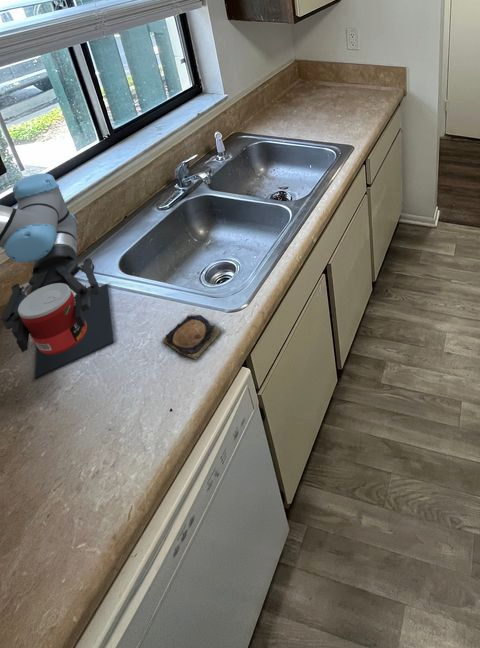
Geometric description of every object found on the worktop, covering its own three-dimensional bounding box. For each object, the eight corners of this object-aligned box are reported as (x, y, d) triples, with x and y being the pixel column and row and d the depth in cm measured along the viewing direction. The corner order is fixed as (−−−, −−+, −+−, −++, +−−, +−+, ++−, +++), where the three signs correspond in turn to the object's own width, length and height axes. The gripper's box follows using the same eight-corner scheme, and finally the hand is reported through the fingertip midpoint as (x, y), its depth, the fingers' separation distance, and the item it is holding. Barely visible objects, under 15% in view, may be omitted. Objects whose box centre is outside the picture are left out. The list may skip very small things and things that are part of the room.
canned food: (88, 342, 86) (69, 302, 81) (37, 364, 82) (14, 324, 77) (88, 314, 91) (70, 276, 87) (40, 333, 87) (19, 294, 83)
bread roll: (224, 331, 100) (221, 320, 99) (193, 362, 94) (190, 351, 92) (192, 314, 105) (188, 303, 103) (160, 343, 98) (156, 331, 96)
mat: (35, 378, 91) (34, 377, 91) (40, 312, 106) (39, 310, 105) (113, 342, 98) (113, 341, 98) (107, 285, 113) (106, 283, 113)
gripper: (114, 251, 104) (122, 319, 87) (2, 292, 93) (-14, 378, 76) (105, 227, 101) (111, 292, 84) (-13, 266, 90) (-33, 350, 73)
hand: (51, 333), depth 80 cm, fingers closed on canned food, 8 cm apart
